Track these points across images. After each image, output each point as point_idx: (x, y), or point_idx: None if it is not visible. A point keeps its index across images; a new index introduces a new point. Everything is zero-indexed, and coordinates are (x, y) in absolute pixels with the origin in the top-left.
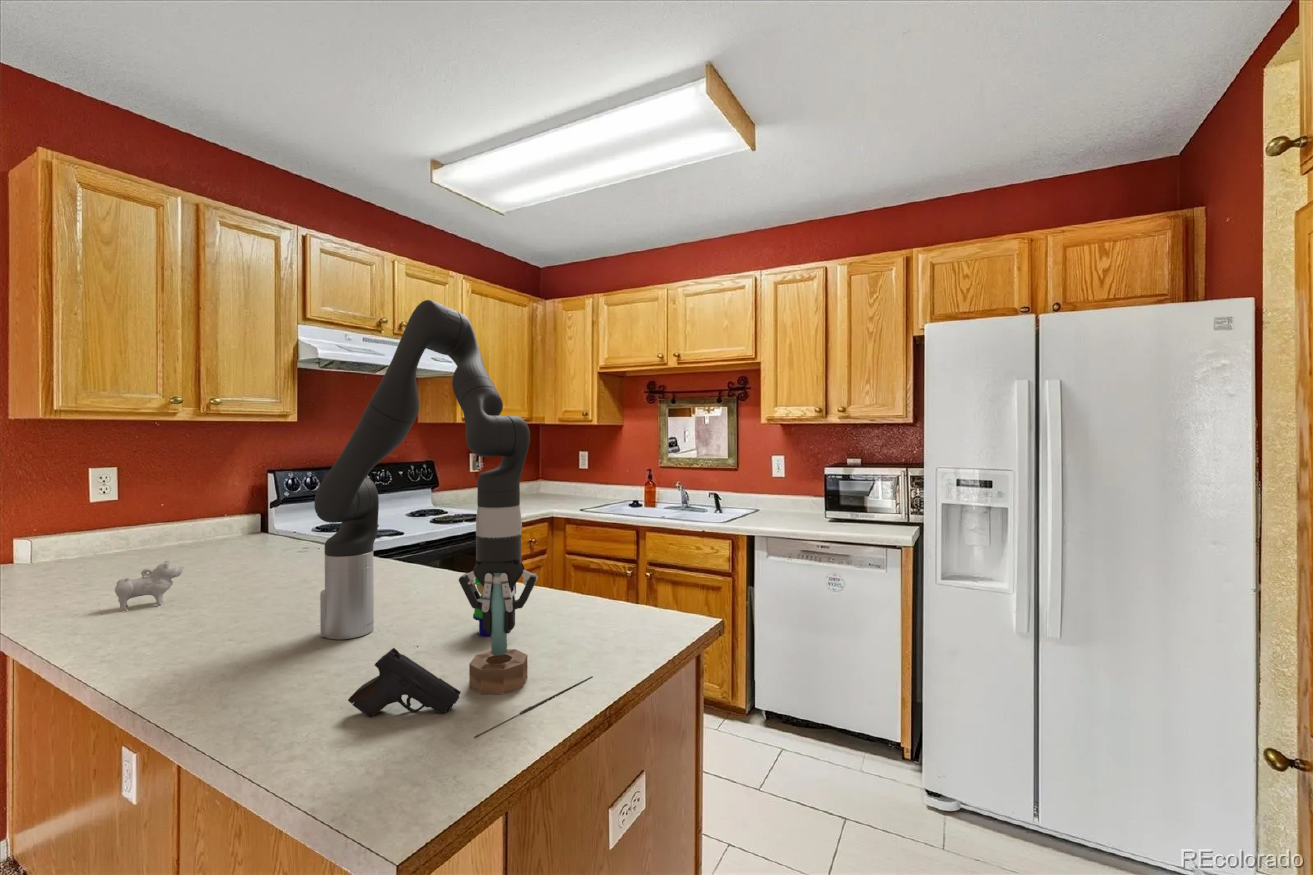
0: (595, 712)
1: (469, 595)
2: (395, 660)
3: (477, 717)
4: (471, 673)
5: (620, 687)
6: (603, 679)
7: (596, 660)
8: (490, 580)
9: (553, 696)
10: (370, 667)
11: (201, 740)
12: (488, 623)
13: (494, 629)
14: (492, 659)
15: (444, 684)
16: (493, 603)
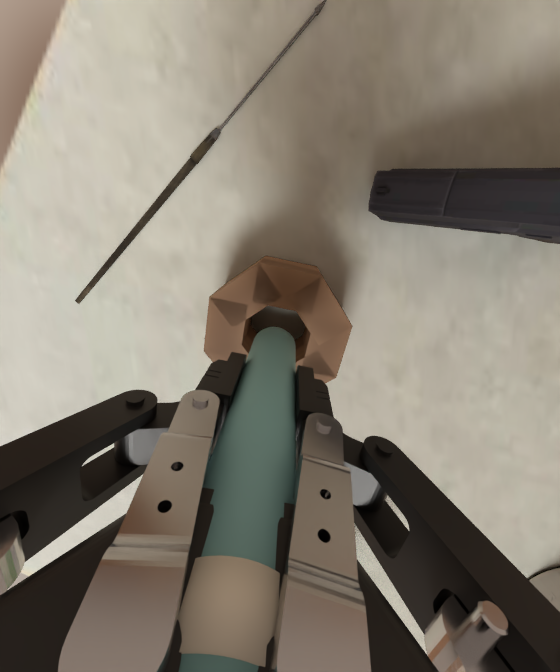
0: (35, 98)
1: (437, 506)
2: None
3: (320, 137)
4: (343, 311)
5: (2, 232)
6: (50, 283)
7: (82, 380)
8: (298, 600)
9: (148, 211)
10: (540, 446)
11: None
12: (305, 382)
13: (282, 365)
14: None
15: (424, 188)
16: (281, 438)
